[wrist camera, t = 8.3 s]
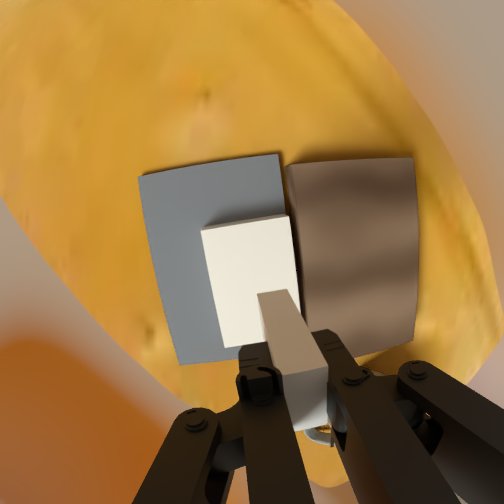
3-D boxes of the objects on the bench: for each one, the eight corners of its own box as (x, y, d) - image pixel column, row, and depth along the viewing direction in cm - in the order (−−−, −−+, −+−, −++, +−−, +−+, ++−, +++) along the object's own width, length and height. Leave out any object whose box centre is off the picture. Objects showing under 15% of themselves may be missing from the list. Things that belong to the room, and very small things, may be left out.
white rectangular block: (203, 226, 21) (200, 230, 19) (283, 213, 22) (289, 216, 20) (224, 335, 23) (224, 347, 21) (296, 322, 24) (302, 334, 22)
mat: (139, 177, 21) (137, 176, 20) (276, 154, 21) (277, 153, 21) (180, 361, 24) (179, 365, 24) (298, 344, 25) (299, 348, 24)
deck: (284, 166, 22) (291, 164, 19) (397, 159, 22) (413, 157, 20) (304, 353, 25) (311, 368, 23) (400, 329, 26) (413, 340, 23)
